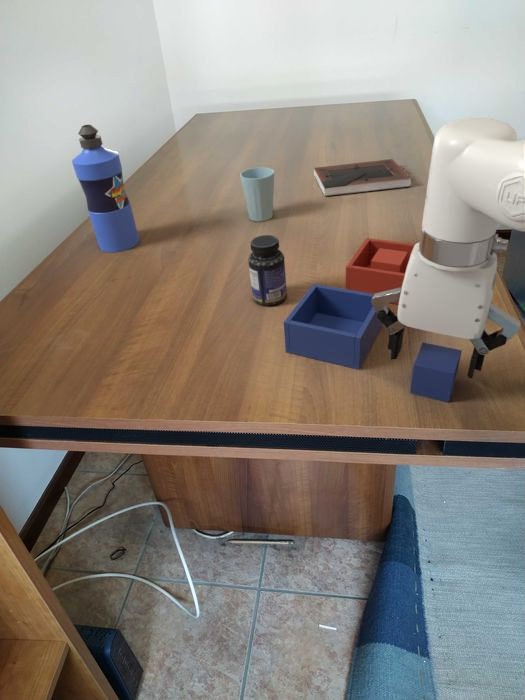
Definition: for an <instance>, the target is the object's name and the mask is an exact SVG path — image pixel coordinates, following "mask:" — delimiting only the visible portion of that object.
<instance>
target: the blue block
mask: <svg viewBox="0 0 525 700" xmlns="http://www.w3.org/2000/svg"><path fill="white" fill-rule="evenodd" d="M461 356H462V350H461V349H457V348H453V347H447V346H443V345H438V344H434V343H429V342H422V343H421V346H420V347H419V350H418V353H417V356H416V358H415V360H414V363H413V367H412V374H411V382H410V383H411V384H410V390H409V393H410V394H412V395H417V396H420V397H424V398H428V399H433V400H436V401H441V402H445V403H450V401H451V397H452V393H453V390H454V386H455V384H456V381H457V376H458V370H459V366H460V361H461Z"/></svg>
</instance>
